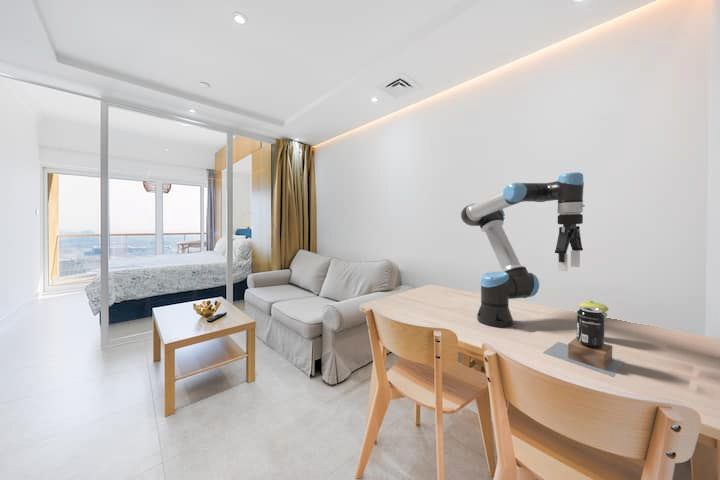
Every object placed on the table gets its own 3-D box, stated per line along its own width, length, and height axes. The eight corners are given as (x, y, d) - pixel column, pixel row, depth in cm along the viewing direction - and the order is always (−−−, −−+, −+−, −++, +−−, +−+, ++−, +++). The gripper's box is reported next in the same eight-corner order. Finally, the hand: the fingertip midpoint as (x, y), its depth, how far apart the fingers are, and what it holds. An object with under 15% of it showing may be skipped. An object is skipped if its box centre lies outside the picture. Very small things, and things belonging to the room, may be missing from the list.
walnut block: (568, 358, 86) (568, 343, 86) (577, 350, 91) (577, 336, 91) (604, 370, 79) (604, 354, 78) (612, 360, 84) (612, 345, 84)
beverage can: (584, 338, 89) (585, 304, 88) (609, 347, 83) (610, 310, 82) (571, 342, 87) (572, 307, 86) (595, 351, 80) (596, 313, 80)
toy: (613, 342, 98) (614, 304, 98) (586, 341, 100) (587, 303, 99) (599, 334, 106) (599, 298, 105) (574, 332, 108) (574, 297, 107)
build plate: (542, 356, 90) (542, 352, 90) (558, 344, 98) (558, 341, 98) (613, 380, 75) (613, 376, 75) (624, 365, 83) (624, 361, 83)
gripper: (570, 213, 88) (569, 274, 89) (592, 213, 102) (591, 266, 104) (545, 214, 94) (544, 271, 96) (569, 214, 109) (568, 264, 110)
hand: (569, 268), depth 100 cm, fingers open, 13 cm apart
